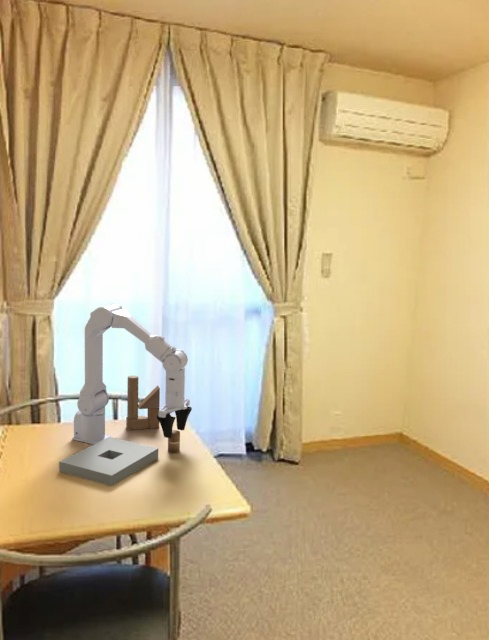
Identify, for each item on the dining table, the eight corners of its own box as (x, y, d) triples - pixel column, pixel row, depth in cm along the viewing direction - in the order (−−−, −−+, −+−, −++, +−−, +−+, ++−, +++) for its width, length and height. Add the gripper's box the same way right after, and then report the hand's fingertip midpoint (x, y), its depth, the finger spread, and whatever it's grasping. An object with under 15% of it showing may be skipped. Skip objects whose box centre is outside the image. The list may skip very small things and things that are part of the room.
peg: (165, 451, 181) (165, 432, 180) (171, 447, 184) (172, 429, 183) (175, 454, 179) (176, 435, 178) (181, 450, 183) (182, 431, 182)
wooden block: (159, 428, 201) (160, 377, 198) (127, 430, 197) (127, 378, 194) (157, 424, 204) (158, 374, 201) (126, 426, 201) (126, 375, 198)
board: (59, 471, 164) (59, 461, 163) (109, 446, 183) (109, 436, 183) (111, 486, 156) (111, 475, 156) (158, 457, 176) (158, 448, 175)
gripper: (173, 398, 170) (172, 443, 173) (198, 386, 183) (197, 428, 186) (152, 395, 173) (152, 439, 176) (179, 383, 186) (178, 424, 189)
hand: (174, 433), depth 181 cm, fingers open, 7 cm apart
